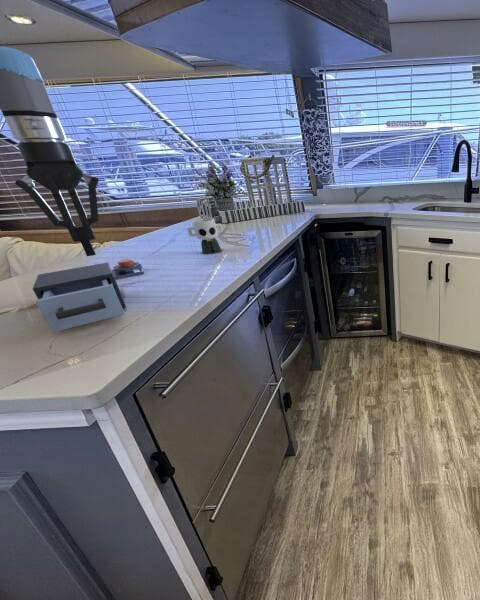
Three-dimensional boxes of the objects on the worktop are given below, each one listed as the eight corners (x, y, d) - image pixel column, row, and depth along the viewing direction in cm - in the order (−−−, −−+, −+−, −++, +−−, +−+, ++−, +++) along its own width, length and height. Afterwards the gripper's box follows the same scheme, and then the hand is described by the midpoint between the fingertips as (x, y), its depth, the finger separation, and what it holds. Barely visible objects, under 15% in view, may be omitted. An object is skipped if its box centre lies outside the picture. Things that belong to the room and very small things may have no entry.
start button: (120, 268, 94) (118, 263, 94) (119, 266, 97) (117, 261, 96) (135, 266, 97) (133, 260, 96) (134, 263, 99) (132, 258, 98)
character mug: (197, 260, 113) (186, 223, 108) (195, 256, 119) (184, 221, 113) (231, 254, 119) (221, 219, 114) (227, 251, 125) (218, 217, 119)
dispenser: (126, 307, 76) (111, 273, 73) (52, 326, 68) (32, 288, 65) (121, 293, 85) (108, 262, 82) (55, 308, 78) (38, 274, 74)
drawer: (126, 320, 67) (114, 290, 64) (50, 341, 60) (33, 308, 57) (119, 299, 79) (108, 273, 76) (55, 314, 72) (40, 285, 69)
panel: (93, 289, 89) (87, 276, 88) (92, 281, 96) (86, 268, 94) (147, 278, 97) (142, 265, 95) (142, 271, 103) (138, 259, 102)
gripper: (-10, 140, 59) (50, 264, 68) (85, 141, 67) (127, 251, 76) (-2, 143, 64) (53, 257, 73) (85, 143, 72) (125, 246, 81)
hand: (91, 254), depth 75 cm, fingers closed
